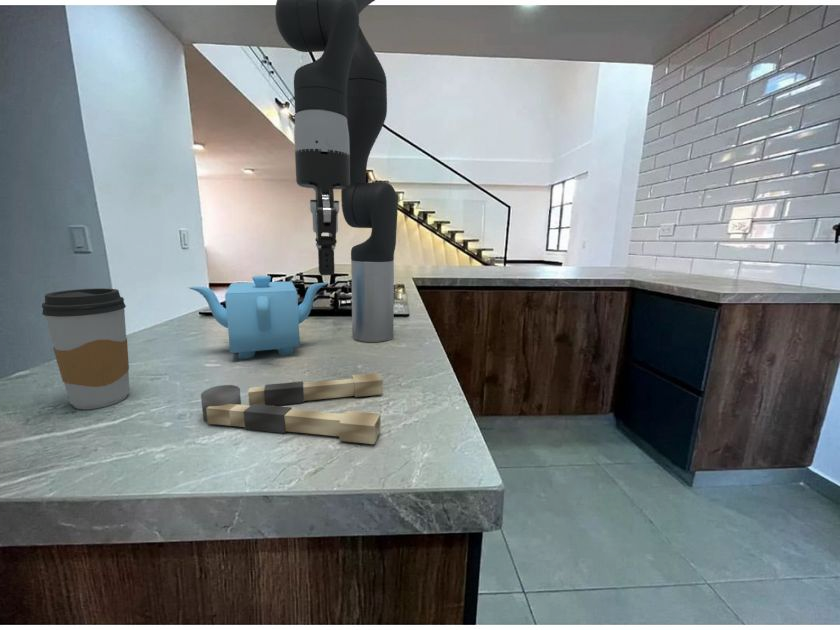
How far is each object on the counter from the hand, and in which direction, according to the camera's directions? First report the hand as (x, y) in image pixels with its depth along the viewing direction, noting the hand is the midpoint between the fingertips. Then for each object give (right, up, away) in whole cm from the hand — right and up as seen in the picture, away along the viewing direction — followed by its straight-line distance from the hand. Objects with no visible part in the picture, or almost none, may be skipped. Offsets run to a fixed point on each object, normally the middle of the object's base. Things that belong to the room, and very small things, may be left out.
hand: (326, 274), depth 58 cm
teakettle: (-17, -13, +20) cm, 29 cm away
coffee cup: (-30, -18, -5) cm, 35 cm away
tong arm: (0, -18, -3) cm, 18 cm away
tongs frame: (-2, -20, -11) cm, 22 cm away
